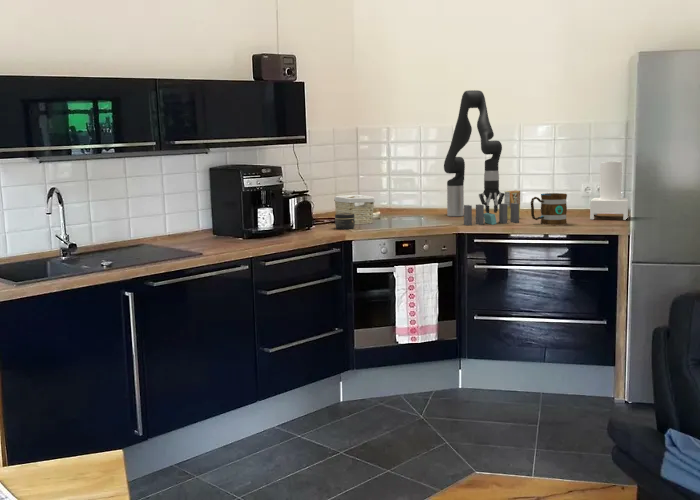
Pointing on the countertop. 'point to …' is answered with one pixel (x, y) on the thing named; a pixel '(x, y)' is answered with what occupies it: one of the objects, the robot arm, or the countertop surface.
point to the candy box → (511, 201)
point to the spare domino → (490, 218)
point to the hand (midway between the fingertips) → (491, 212)
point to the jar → (344, 221)
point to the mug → (551, 208)
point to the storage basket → (356, 207)
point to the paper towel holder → (610, 191)
